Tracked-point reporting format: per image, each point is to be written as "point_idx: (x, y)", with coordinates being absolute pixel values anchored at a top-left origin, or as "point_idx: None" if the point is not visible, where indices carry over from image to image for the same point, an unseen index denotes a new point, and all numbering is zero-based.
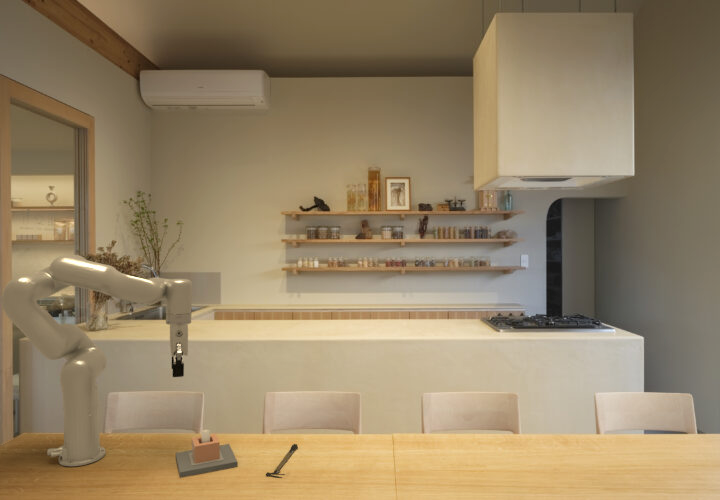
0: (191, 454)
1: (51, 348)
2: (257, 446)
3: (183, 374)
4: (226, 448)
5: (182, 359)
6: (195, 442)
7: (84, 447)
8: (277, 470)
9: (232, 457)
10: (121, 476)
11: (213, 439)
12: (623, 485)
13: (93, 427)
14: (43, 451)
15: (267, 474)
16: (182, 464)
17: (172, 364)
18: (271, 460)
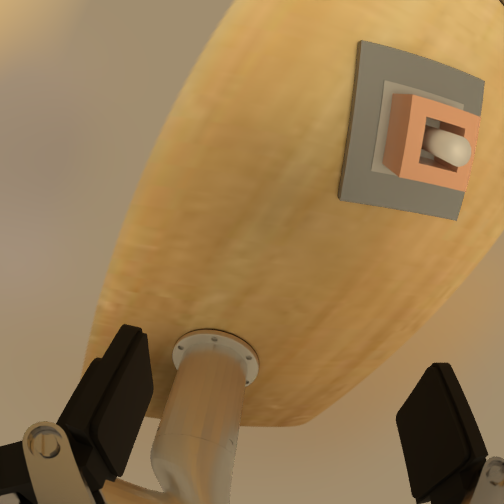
0: (384, 166)
1: None
2: None
3: (453, 372)
4: (394, 61)
5: (501, 499)
6: (442, 180)
7: (244, 386)
8: None
9: (458, 77)
10: (360, 315)
11: (453, 121)
12: None
13: (229, 405)
14: (157, 392)
15: None
16: (423, 203)
17: (142, 420)
18: (480, 3)
